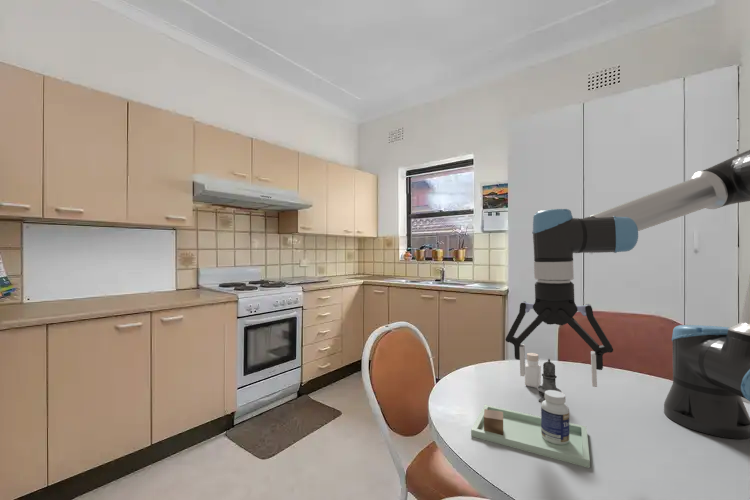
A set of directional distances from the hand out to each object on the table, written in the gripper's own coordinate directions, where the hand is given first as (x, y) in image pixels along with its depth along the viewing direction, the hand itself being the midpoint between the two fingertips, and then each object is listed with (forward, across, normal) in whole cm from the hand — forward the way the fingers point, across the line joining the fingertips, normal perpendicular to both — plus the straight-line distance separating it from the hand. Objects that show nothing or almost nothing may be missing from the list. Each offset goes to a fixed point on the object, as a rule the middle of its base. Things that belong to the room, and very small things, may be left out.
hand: (557, 379), depth 73 cm
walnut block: (+12, +13, +4) cm, 18 cm away
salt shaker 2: (+14, +3, -20) cm, 24 cm away
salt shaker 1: (+14, +8, -31) cm, 35 cm away
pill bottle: (+13, +1, 0) cm, 13 cm away
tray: (+13, +6, +1) cm, 15 cm away
